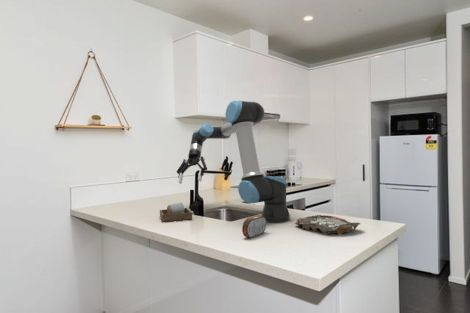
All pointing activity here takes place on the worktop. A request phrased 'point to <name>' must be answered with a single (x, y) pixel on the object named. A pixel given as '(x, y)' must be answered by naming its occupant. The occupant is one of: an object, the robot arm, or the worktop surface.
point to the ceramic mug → (175, 208)
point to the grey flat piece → (326, 224)
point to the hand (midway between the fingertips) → (189, 181)
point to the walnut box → (175, 216)
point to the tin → (254, 226)
